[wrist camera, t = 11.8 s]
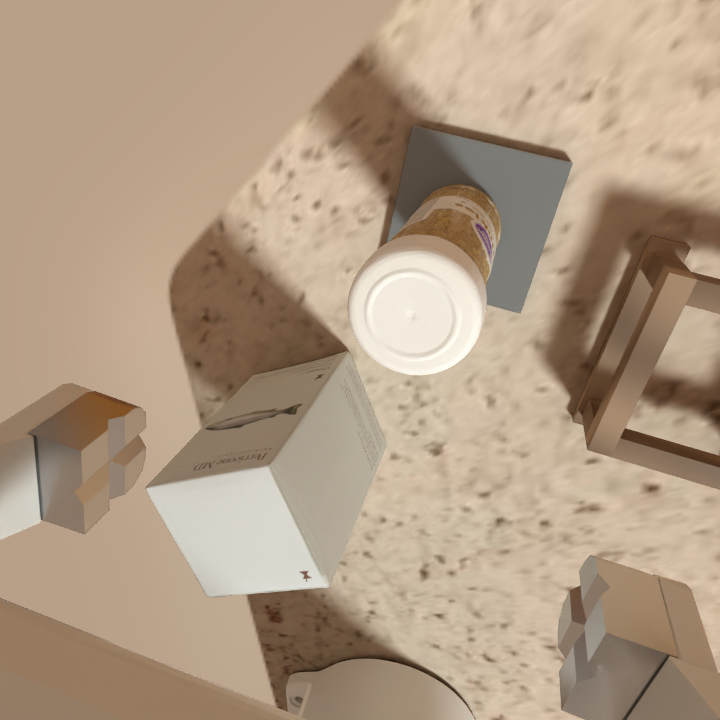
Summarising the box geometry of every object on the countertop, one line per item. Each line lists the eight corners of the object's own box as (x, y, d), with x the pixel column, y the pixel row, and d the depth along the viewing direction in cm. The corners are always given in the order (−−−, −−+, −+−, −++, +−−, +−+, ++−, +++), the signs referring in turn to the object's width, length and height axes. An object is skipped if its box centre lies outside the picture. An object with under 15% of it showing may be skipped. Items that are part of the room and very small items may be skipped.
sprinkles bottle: (519, 232, 30) (513, 330, 18) (450, 285, 32) (404, 403, 20) (464, 162, 29) (419, 217, 18) (396, 220, 31) (316, 304, 20)
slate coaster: (520, 309, 32) (520, 313, 32) (382, 272, 34) (379, 275, 33) (571, 161, 29) (572, 163, 28) (414, 125, 30) (412, 125, 29)
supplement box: (350, 346, 36) (272, 463, 25) (389, 447, 39) (332, 594, 27) (250, 371, 39) (138, 486, 28) (292, 463, 41) (205, 604, 30)
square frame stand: (758, 471, 33) (787, 520, 29) (572, 416, 34) (577, 457, 31) (875, 290, 28) (928, 322, 24) (650, 235, 29) (668, 258, 25)
